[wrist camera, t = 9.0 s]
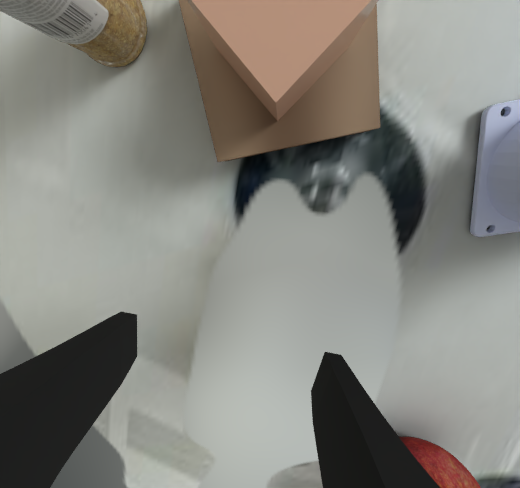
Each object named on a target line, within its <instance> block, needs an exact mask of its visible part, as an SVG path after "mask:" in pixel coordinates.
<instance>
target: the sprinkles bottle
mask: <svg viewBox="0 0 520 488" xmlns="http://www.w3.org/2000/svg"><path fill="white" fill-rule="evenodd" d="M0 11H2V12H3V13H5V14H7V15H9V16H11V17H13V18H15V19H17V20H19V21H21V22H23V23H25V24H27V25H29V26H31V27H33V28H35V29H37V30H39V31H41V32H43V33H45V34H47V35H48V36H50V37H52V38H55V39H57V40H59V41H61V42H65V43H68V44H69V45H71V46H73V47H75V48H77V49H79V50H81V51H83V52H85V53H87V54H88V55H89V56H90V57H91V58H92V59H94V60H95V61H97V62H99V63H101V64H103V65H106V66H109V67H120V66H125V65H127V64H129V63H131V62H132V61H134V60H135V59H136V58H137V57H138V55H139V54H140V52H141V51H142V48H143V45H144V42H145V39H146V34H147V25H146V17H145V12H144V10H143V7H142V4H141V1H140V0H0Z"/></svg>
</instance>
